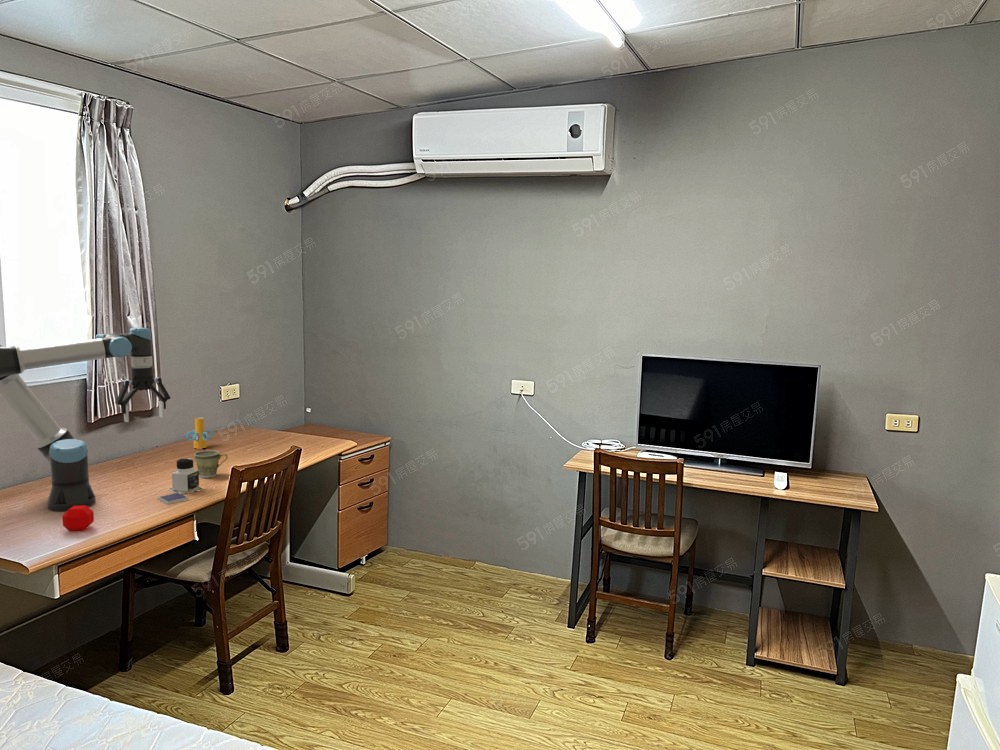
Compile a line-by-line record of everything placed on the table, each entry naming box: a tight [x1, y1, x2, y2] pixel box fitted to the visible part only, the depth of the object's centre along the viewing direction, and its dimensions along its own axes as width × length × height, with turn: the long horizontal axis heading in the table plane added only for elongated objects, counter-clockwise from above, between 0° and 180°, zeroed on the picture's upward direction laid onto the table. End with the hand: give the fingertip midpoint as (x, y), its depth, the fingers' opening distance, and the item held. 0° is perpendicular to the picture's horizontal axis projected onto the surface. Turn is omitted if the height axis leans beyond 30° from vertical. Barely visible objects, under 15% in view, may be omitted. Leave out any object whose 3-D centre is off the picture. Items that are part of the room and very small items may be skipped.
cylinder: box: [186, 417, 214, 449], centre depth 348 cm, size 12×10×15 cm
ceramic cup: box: [193, 449, 228, 479], centre depth 302 cm, size 13×10×10 cm
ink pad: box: [157, 493, 189, 505], centre depth 270 cm, size 8×8×1 cm
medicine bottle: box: [171, 457, 200, 492], centre depth 281 cm, size 7×7×12 cm
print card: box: [167, 486, 204, 495], centre depth 282 cm, size 10×10×1 cm
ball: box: [62, 505, 95, 533], centre depth 236 cm, size 8×8×8 cm
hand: (144, 419), depth 285 cm, fingers open, 13 cm apart
